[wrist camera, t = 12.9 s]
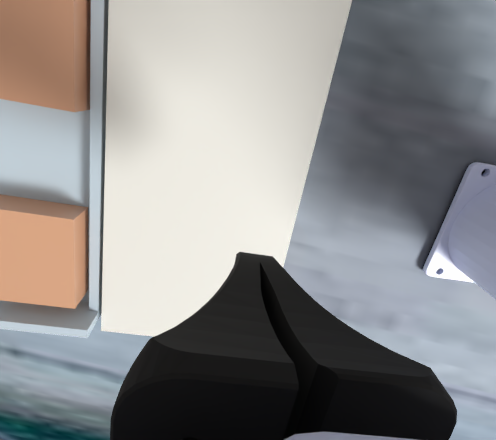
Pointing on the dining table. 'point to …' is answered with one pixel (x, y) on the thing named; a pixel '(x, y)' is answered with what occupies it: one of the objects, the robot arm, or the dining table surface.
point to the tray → (61, 180)
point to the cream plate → (206, 144)
